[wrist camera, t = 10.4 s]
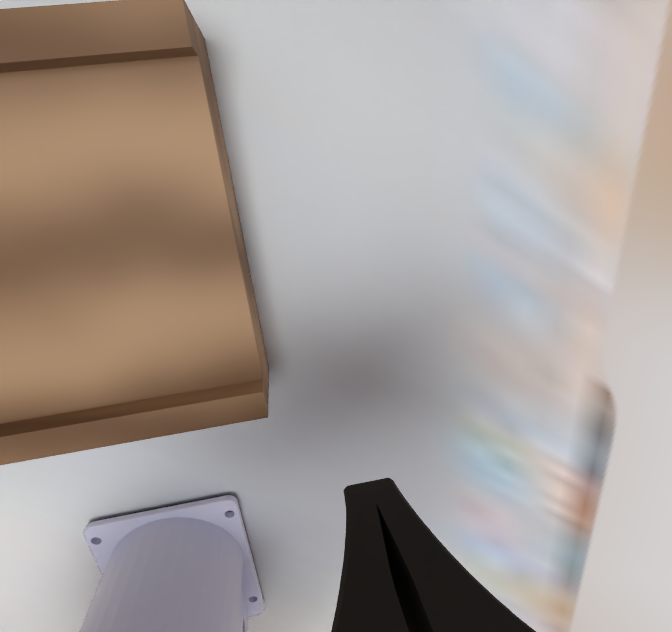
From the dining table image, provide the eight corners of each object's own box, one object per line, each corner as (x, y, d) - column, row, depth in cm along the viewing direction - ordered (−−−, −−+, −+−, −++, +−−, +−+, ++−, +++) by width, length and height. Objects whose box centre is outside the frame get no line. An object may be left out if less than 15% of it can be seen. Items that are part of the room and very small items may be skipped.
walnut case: (268, 370, 20) (267, 417, 16) (-82, 428, 18) (-171, 495, 15) (204, 38, 15) (181, -4, 11) (-289, 79, 13) (-508, 47, 10)
